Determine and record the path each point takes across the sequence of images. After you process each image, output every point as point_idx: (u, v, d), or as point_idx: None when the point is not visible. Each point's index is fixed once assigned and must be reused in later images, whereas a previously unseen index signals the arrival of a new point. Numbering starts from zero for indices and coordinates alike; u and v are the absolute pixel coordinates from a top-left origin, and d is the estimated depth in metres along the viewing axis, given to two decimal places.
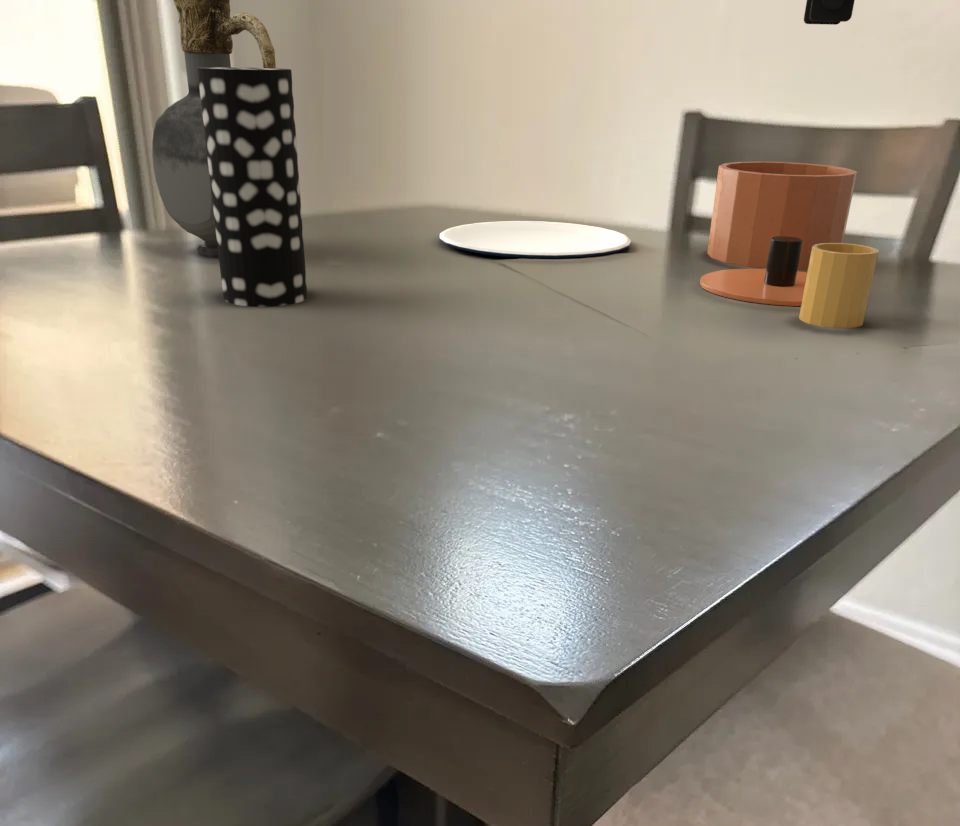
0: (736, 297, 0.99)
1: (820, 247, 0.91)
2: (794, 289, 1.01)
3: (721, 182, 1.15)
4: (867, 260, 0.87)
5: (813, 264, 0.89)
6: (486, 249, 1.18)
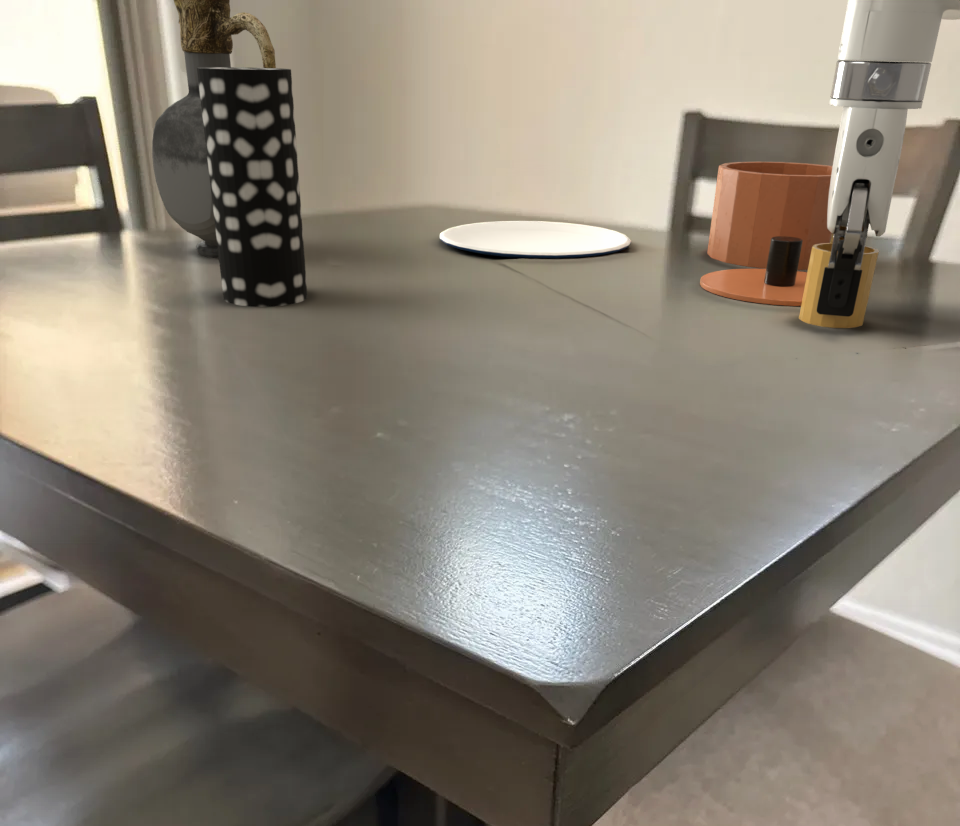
0: (736, 297, 0.99)
1: (820, 247, 0.91)
2: (794, 289, 1.01)
3: (721, 182, 1.15)
4: (867, 260, 0.87)
5: (813, 264, 0.89)
6: (486, 249, 1.18)
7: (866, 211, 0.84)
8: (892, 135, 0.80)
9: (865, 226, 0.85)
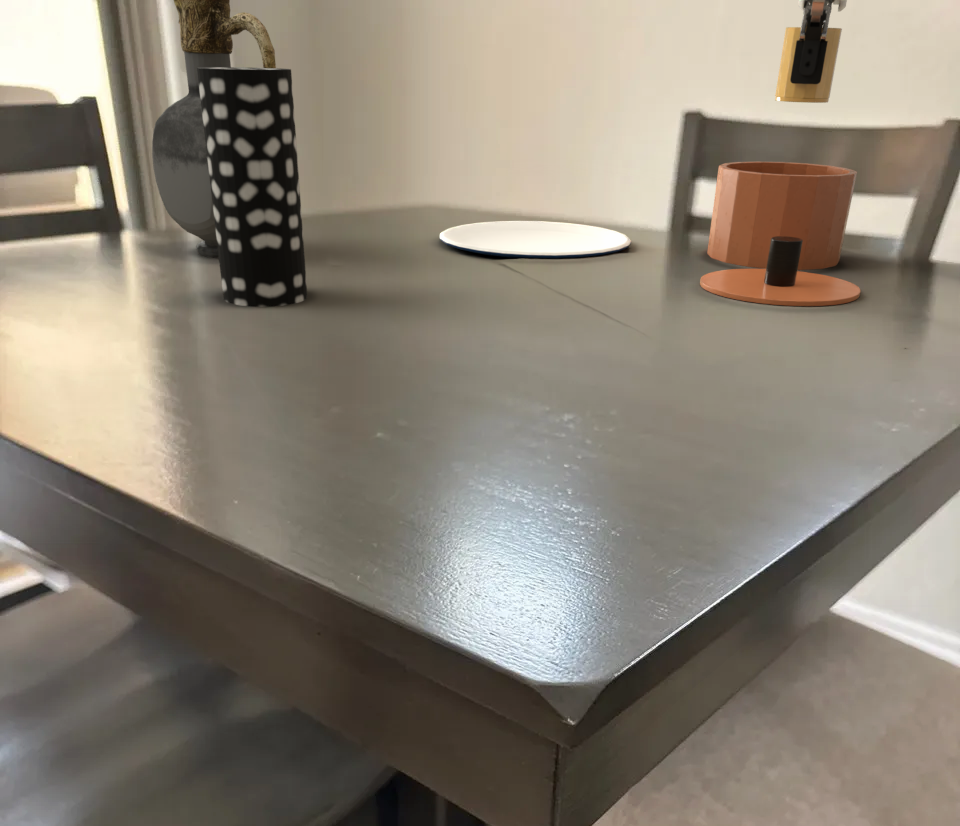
0: (736, 297, 0.99)
1: None
2: (794, 289, 1.01)
3: (721, 182, 1.15)
4: (831, 33, 1.04)
5: (787, 41, 1.06)
6: (486, 249, 1.18)
7: None
8: None
9: (829, 0, 1.01)
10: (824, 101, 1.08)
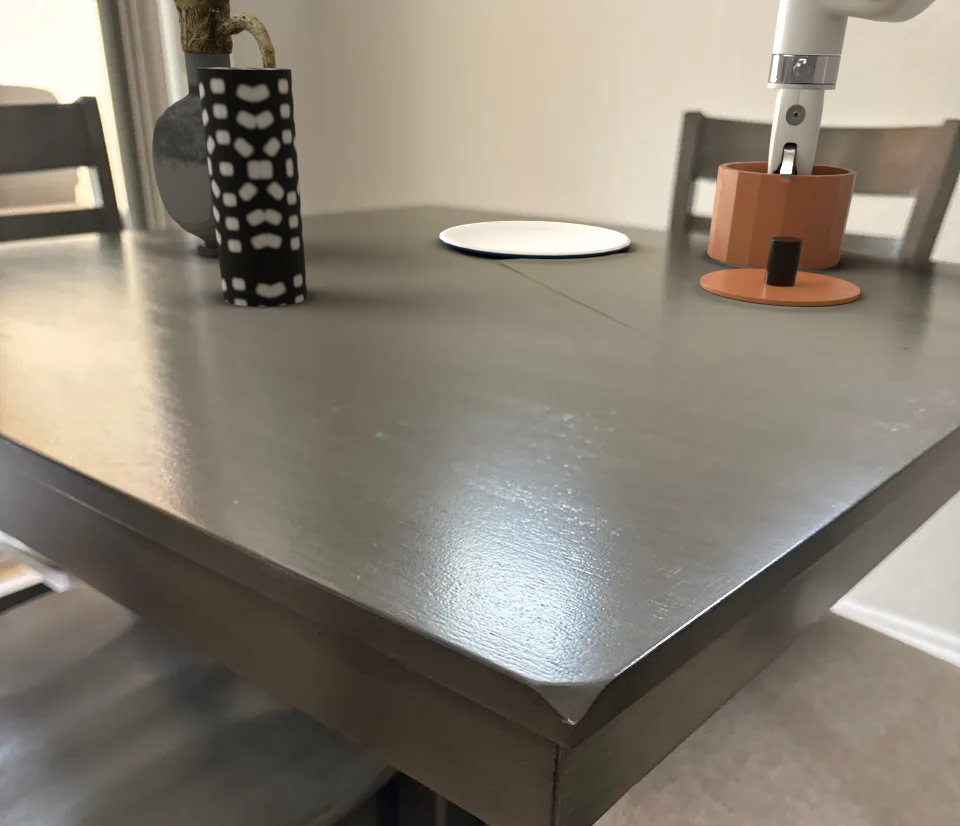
0: (736, 297, 0.99)
1: None
2: (794, 289, 1.01)
3: (721, 182, 1.15)
4: None
5: None
6: (486, 249, 1.18)
7: (796, 165, 1.12)
8: (812, 109, 1.07)
9: None
10: None
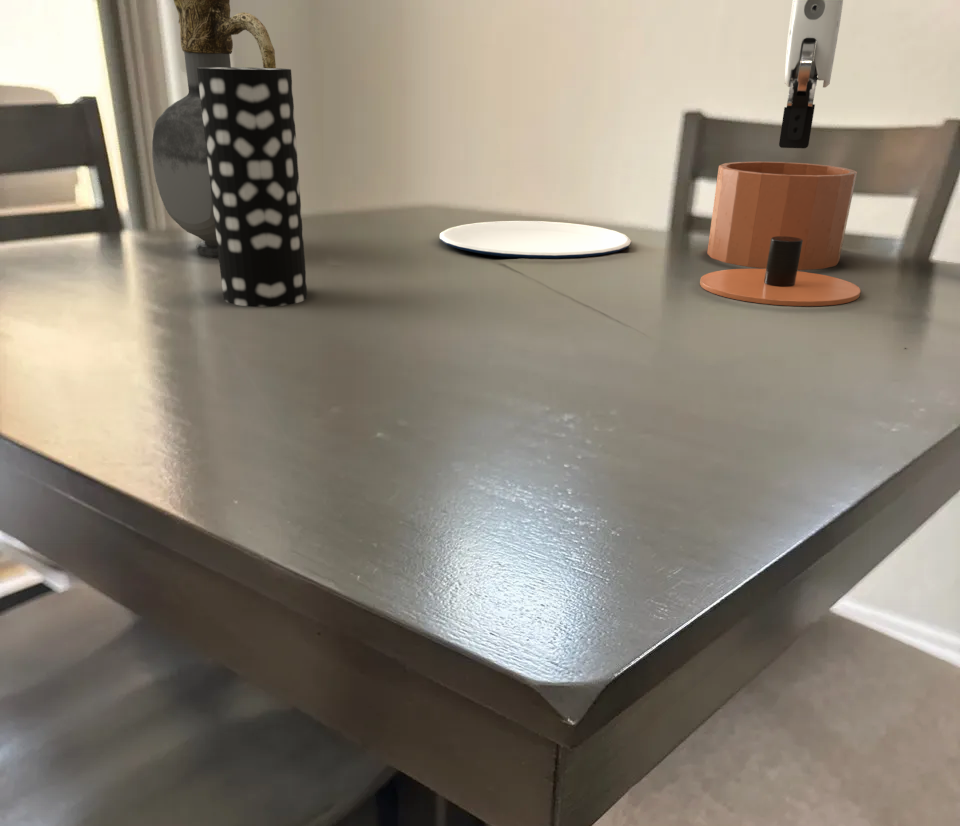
0: (736, 297, 0.99)
1: None
2: (794, 289, 1.01)
3: (721, 182, 1.15)
4: None
5: None
6: (486, 249, 1.18)
7: None
8: (831, 0, 1.02)
9: (815, 73, 1.06)
10: None
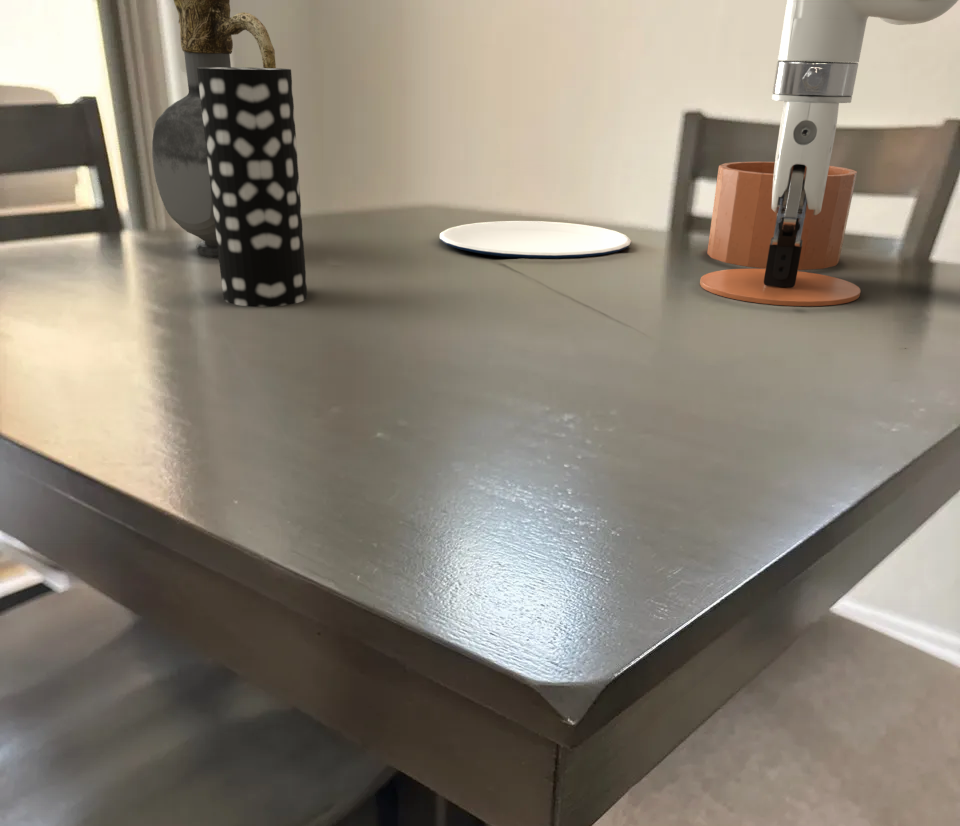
0: (736, 297, 0.99)
1: None
2: (794, 289, 1.01)
3: (721, 182, 1.15)
4: None
5: None
6: (486, 249, 1.18)
7: (804, 195, 0.96)
8: (824, 125, 0.92)
9: (803, 208, 0.97)
10: None
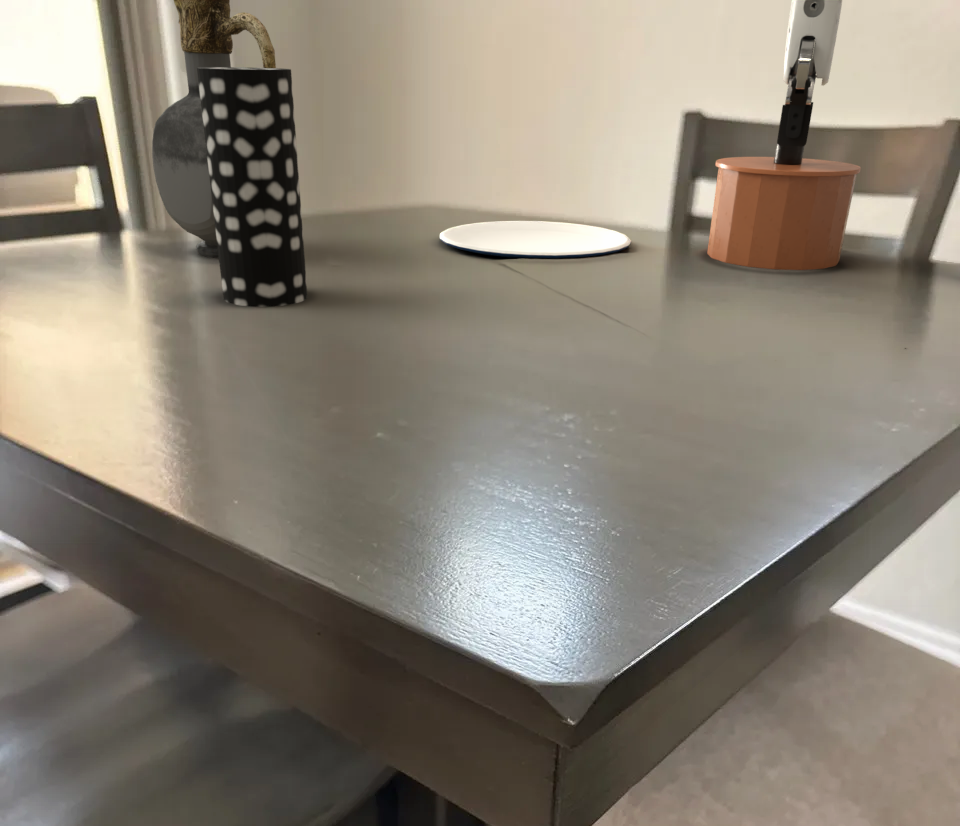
0: (749, 170, 1.10)
1: None
2: (801, 166, 1.12)
3: (721, 182, 1.15)
4: None
5: None
6: (486, 249, 1.18)
7: None
8: None
9: (813, 71, 1.06)
10: None
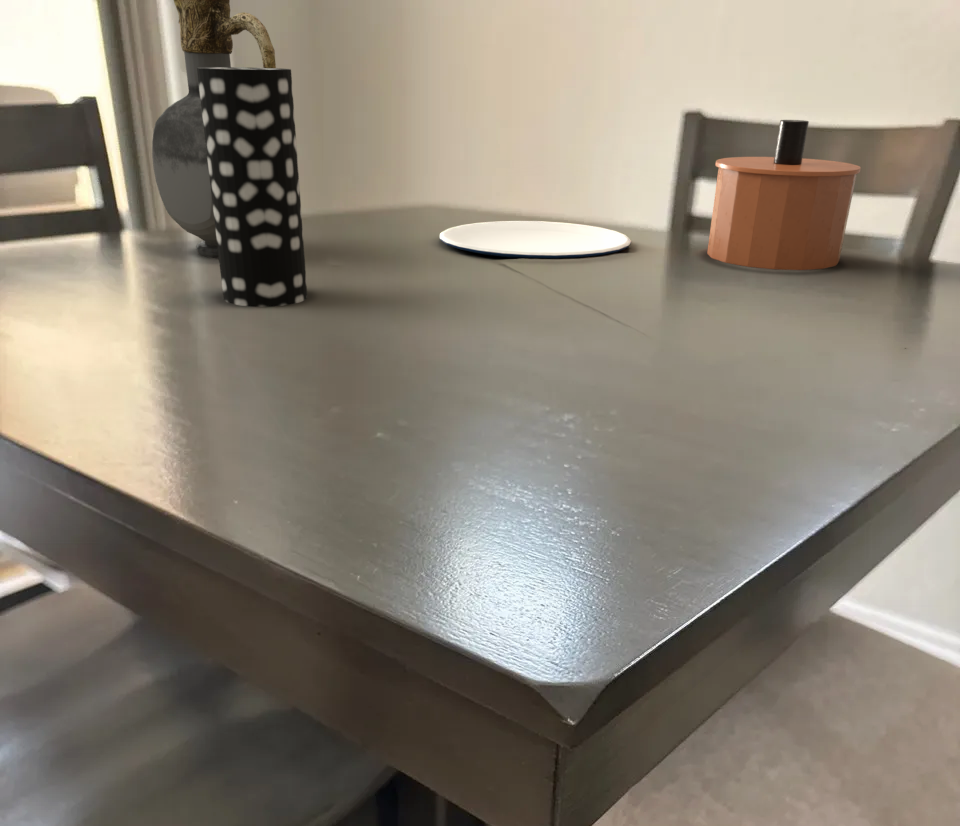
0: (749, 170, 1.10)
1: None
2: (801, 166, 1.12)
3: (721, 182, 1.15)
4: None
5: None
6: (486, 249, 1.18)
7: None
8: None
9: None
10: None
